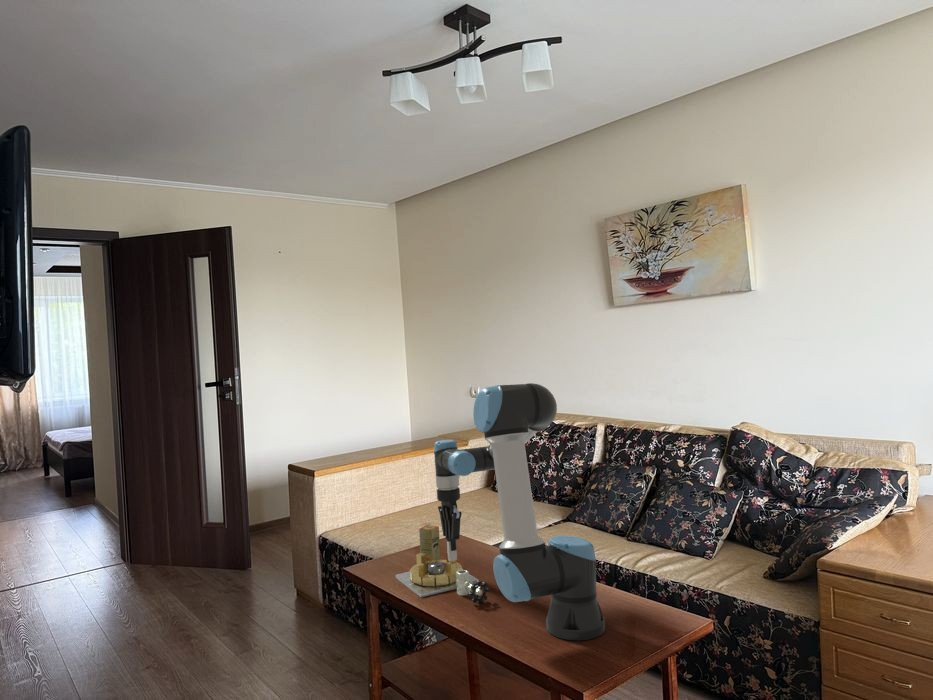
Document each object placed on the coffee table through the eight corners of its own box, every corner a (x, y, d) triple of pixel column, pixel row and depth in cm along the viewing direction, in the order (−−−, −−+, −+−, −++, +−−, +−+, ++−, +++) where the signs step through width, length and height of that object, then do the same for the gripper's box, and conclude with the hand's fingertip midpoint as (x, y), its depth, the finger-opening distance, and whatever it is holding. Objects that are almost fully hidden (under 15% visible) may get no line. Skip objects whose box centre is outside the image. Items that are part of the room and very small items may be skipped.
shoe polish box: (420, 563, 223) (419, 528, 222) (428, 558, 227) (426, 525, 227) (433, 565, 220) (431, 530, 220) (440, 560, 224) (438, 526, 224)
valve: (450, 593, 194) (470, 607, 184) (449, 572, 194) (469, 584, 184) (469, 588, 198) (490, 601, 187) (468, 567, 198) (489, 578, 187)
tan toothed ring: (472, 574, 206) (471, 556, 206) (435, 590, 194) (434, 571, 194) (437, 563, 217) (436, 547, 217) (400, 578, 206) (399, 560, 205)
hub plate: (479, 583, 202) (478, 567, 202) (421, 597, 192) (420, 580, 192) (450, 565, 219) (449, 550, 219) (395, 577, 210) (394, 562, 210)
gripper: (467, 489, 206) (472, 562, 206) (449, 483, 217) (454, 552, 217) (446, 492, 202) (451, 567, 202) (429, 486, 214) (434, 557, 214)
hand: (452, 559), depth 210 cm, fingers closed
